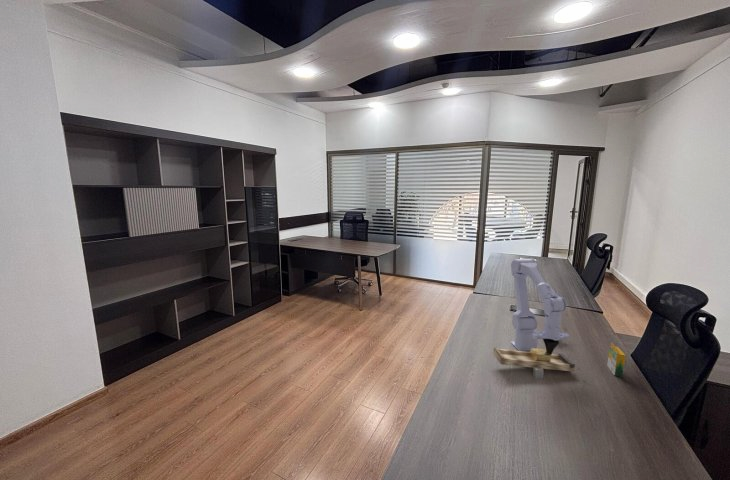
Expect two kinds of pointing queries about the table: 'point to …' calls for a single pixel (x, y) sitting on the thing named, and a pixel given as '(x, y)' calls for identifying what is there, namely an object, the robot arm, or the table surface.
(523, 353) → the beam
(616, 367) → the crayon box
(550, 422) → the table surface
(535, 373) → the grey rectangular bar
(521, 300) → the robot arm
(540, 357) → the block
